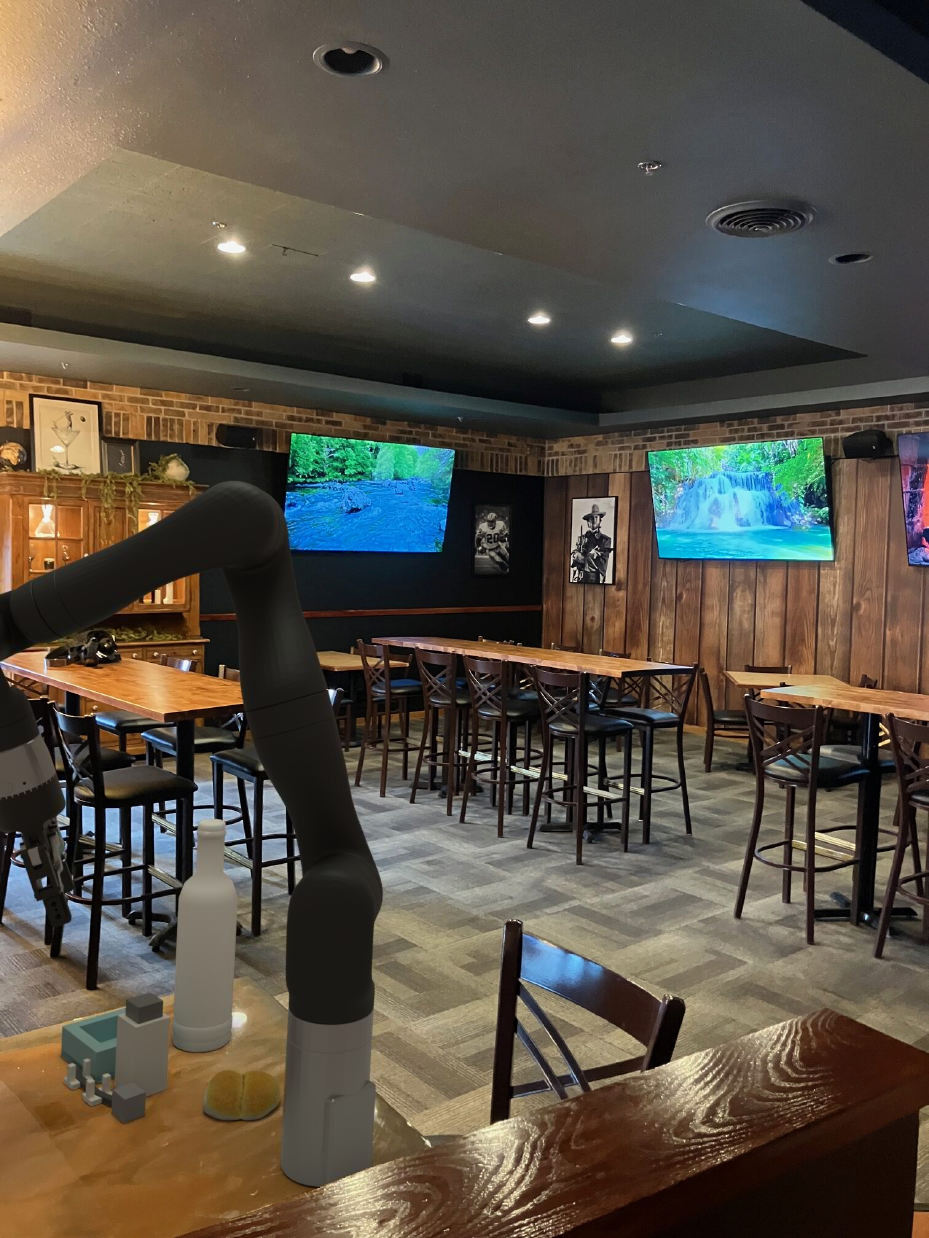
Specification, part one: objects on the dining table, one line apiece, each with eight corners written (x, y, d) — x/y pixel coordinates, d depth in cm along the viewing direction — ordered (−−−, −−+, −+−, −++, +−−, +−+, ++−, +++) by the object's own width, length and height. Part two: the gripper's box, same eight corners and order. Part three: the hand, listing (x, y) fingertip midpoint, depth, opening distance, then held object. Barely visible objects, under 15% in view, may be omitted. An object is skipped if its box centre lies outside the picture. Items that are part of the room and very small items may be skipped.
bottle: (222, 1054, 130) (233, 830, 129) (163, 1051, 130) (174, 826, 129) (237, 1028, 138) (247, 816, 137) (181, 1024, 138) (191, 813, 137)
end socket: (165, 1060, 127) (166, 1030, 127) (95, 1084, 121) (96, 1052, 120) (129, 1034, 134) (130, 1006, 134) (61, 1056, 127) (62, 1025, 127)
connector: (166, 1089, 120) (170, 1000, 120) (132, 1101, 117) (136, 1010, 117) (148, 1075, 124) (152, 989, 123) (114, 1087, 120) (118, 998, 120)
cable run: (144, 1115, 114) (145, 1091, 114) (114, 1126, 112) (115, 1102, 112) (89, 1070, 124) (90, 1048, 124) (60, 1079, 121) (61, 1057, 121)
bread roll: (278, 1122, 115) (280, 1089, 115) (200, 1125, 113) (201, 1091, 113) (280, 1086, 123) (282, 1055, 123) (207, 1088, 121) (208, 1057, 121)
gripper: (51, 789, 104) (97, 922, 108) (57, 751, 117) (97, 871, 121) (-24, 813, 102) (25, 948, 106) (-9, 771, 115) (34, 893, 119)
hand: (64, 907), depth 114 cm, fingers open, 8 cm apart
